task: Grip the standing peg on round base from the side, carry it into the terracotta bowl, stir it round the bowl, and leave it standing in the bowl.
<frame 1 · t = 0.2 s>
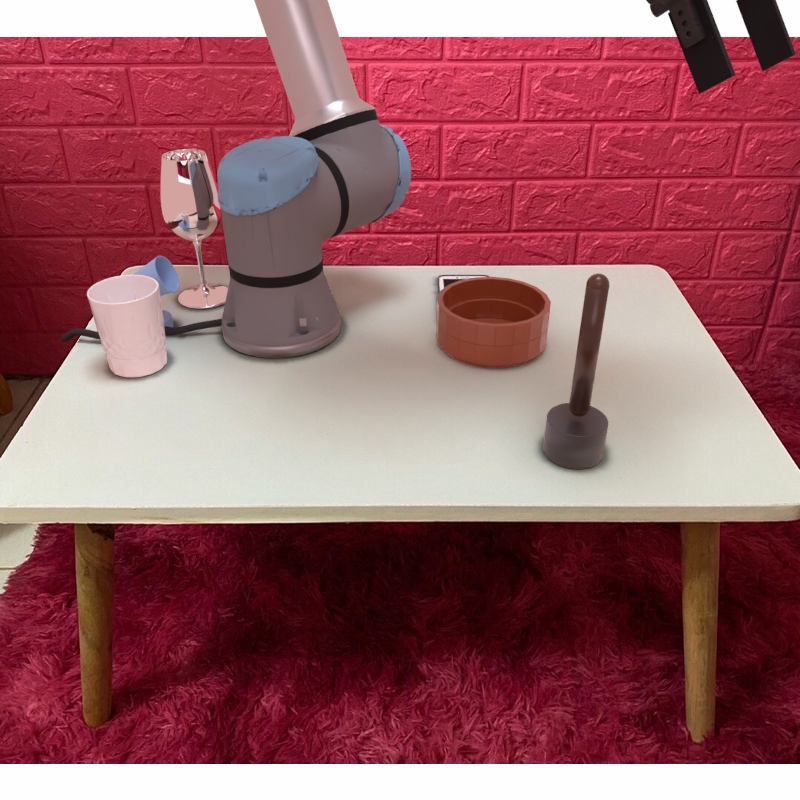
hand: (750, 73, 64), 35 cm above the table, tool tilted 35°, fingers open, 13 cm apart
spotlight: (159, 329, 101), on the table
cell phone: (466, 303, 109), on the table
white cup: (139, 365, 94), on the table
bowl: (490, 342, 98), on the table
peg on round base: (572, 451, 79), on the table
wineglass: (205, 298, 109), on the table
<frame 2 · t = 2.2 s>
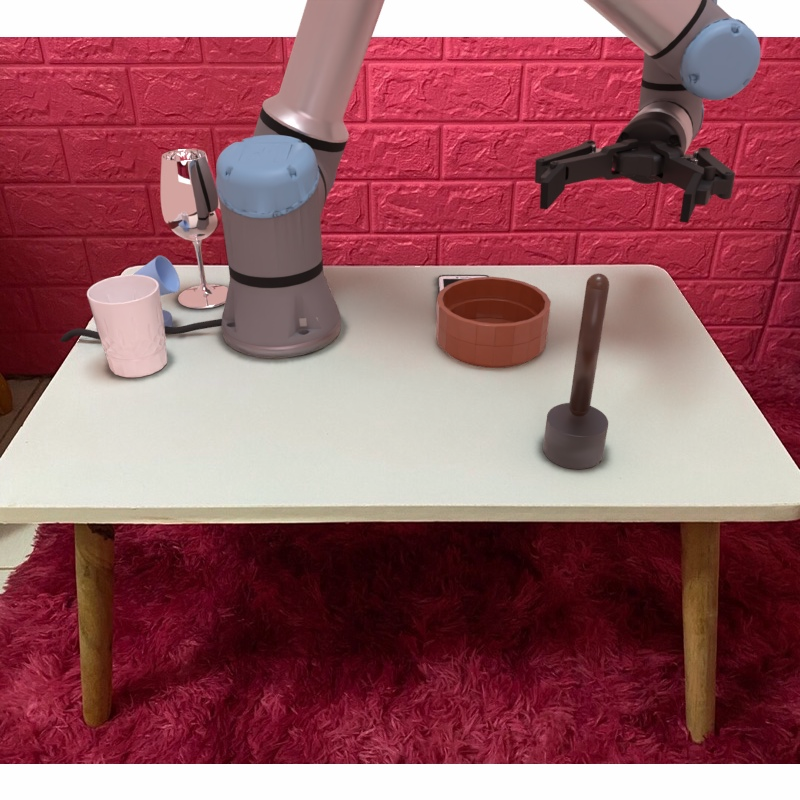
hand: (612, 202, 75), 23 cm above the table, tool horizontal, fingers open, 13 cm apart
nothing on the table moved.
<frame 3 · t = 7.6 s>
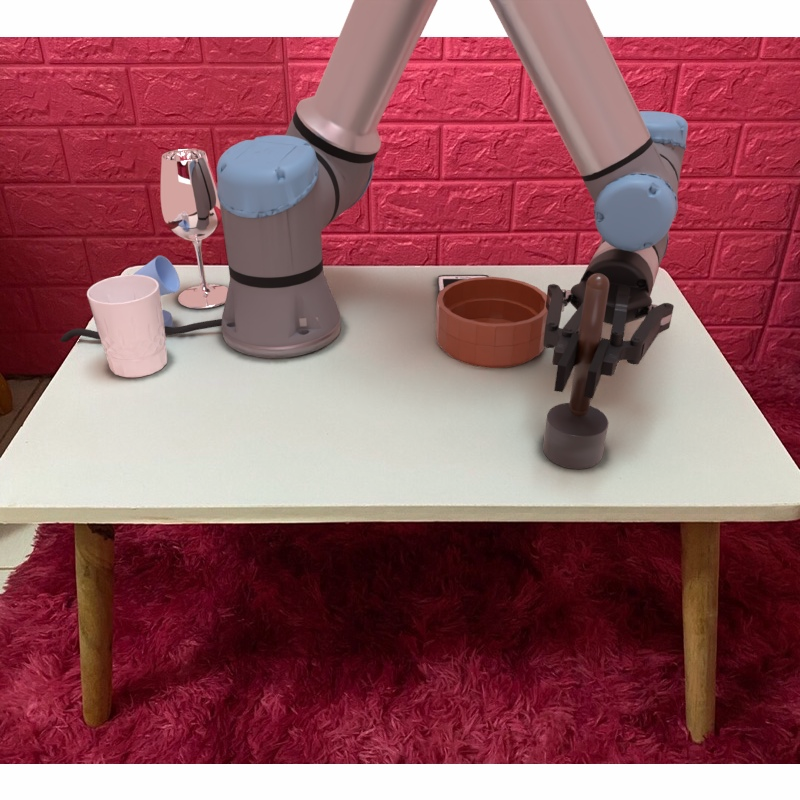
hand: (575, 381, 68), 12 cm above the table, tool horizontal, fingers closed on peg on round base, 2 cm apart
peg on round base: (572, 451, 79), on the table, touching gripper
everything else where it was.
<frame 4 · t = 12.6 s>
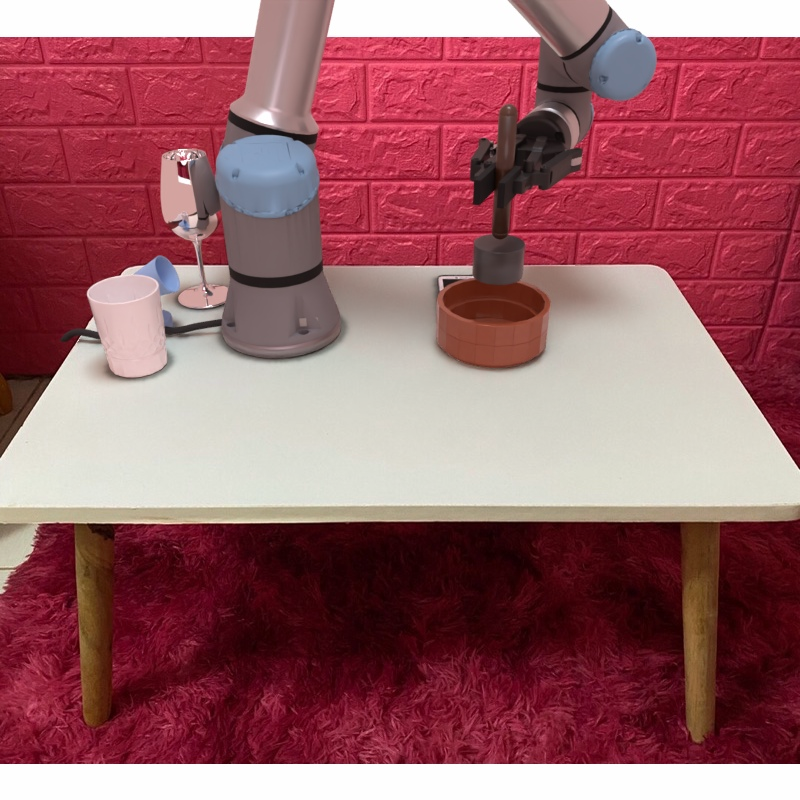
hand: (488, 194, 82), 21 cm above the table, tool horizontal, fingers closed on peg on round base, 2 cm apart
peg on round base: (497, 274, 92), point 10 cm above the table, touching gripper
everything else where it was.
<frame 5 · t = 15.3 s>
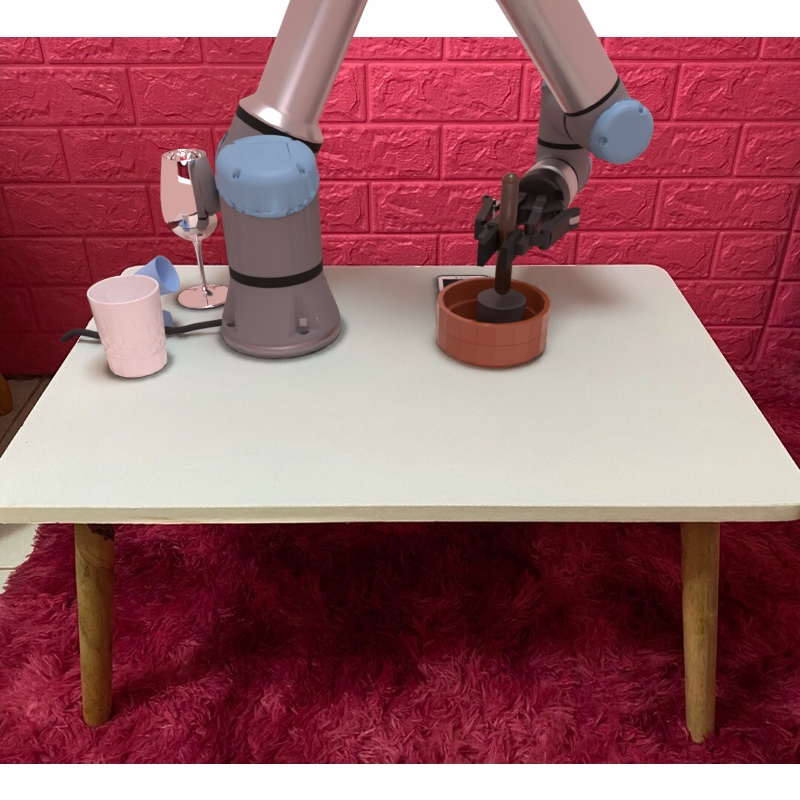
hand: (492, 257, 87), 13 cm above the table, tool horizontal, fingers closed on peg on round base, 2 cm apart
peg on round base: (499, 326, 97), point 2 cm above the table, touching gripper
everything else where it was.
when the fingers open (12 cm above the table, at t = 17.8 s): peg on round base stays where it is, resting on bowl.
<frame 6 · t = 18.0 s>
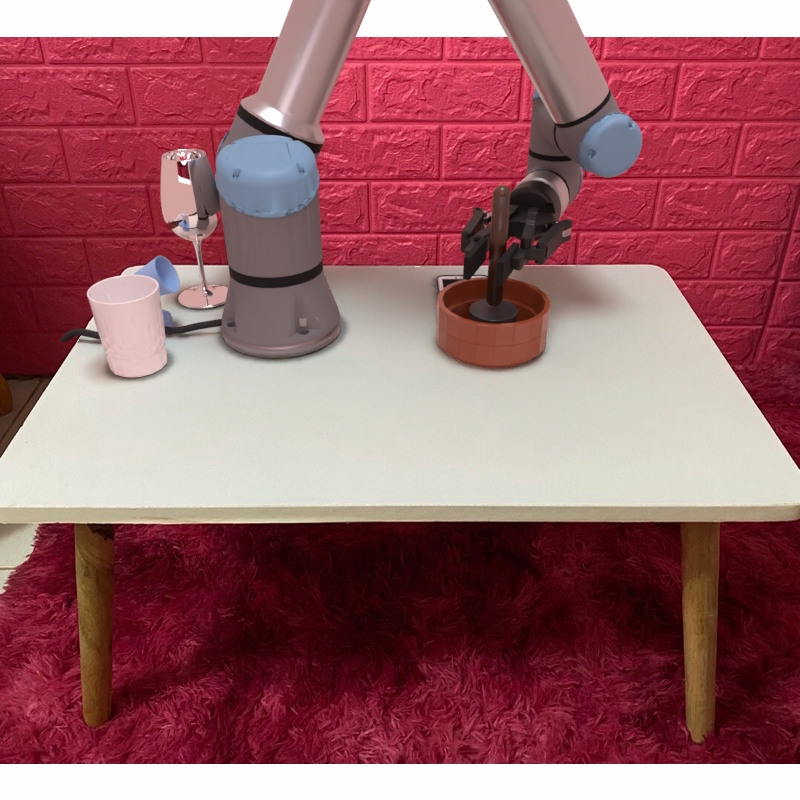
hand: (483, 271, 87), 12 cm above the table, tool horizontal, fingers open, 3 cm apart
peg on round base: (491, 337, 98), point 1 cm above the table, touching bowl
everything else where it was.
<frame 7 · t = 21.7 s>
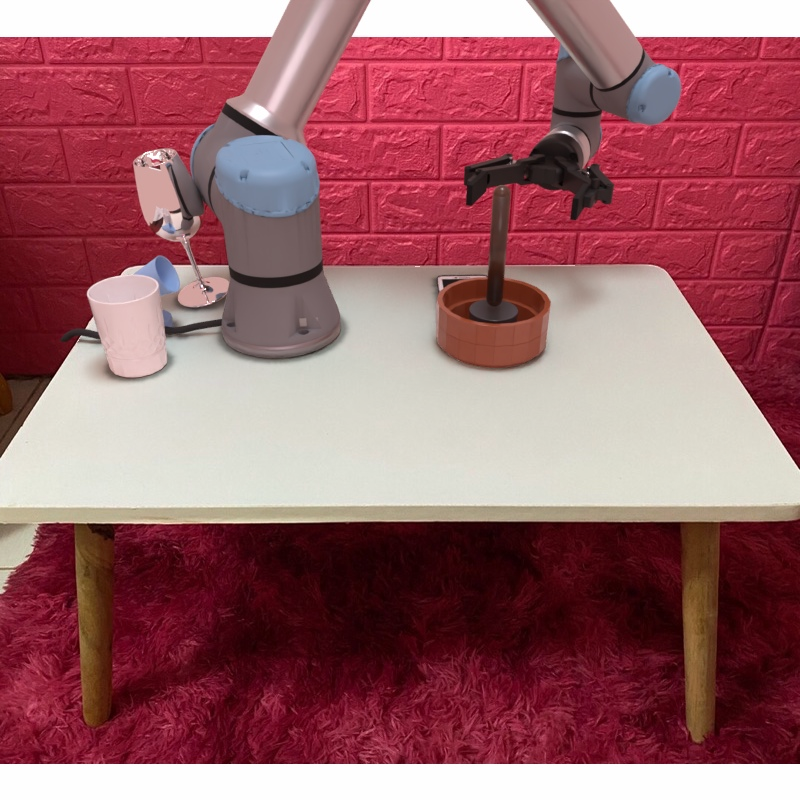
hand: (520, 202, 97), 15 cm above the table, tool horizontal, fingers open, 13 cm apart
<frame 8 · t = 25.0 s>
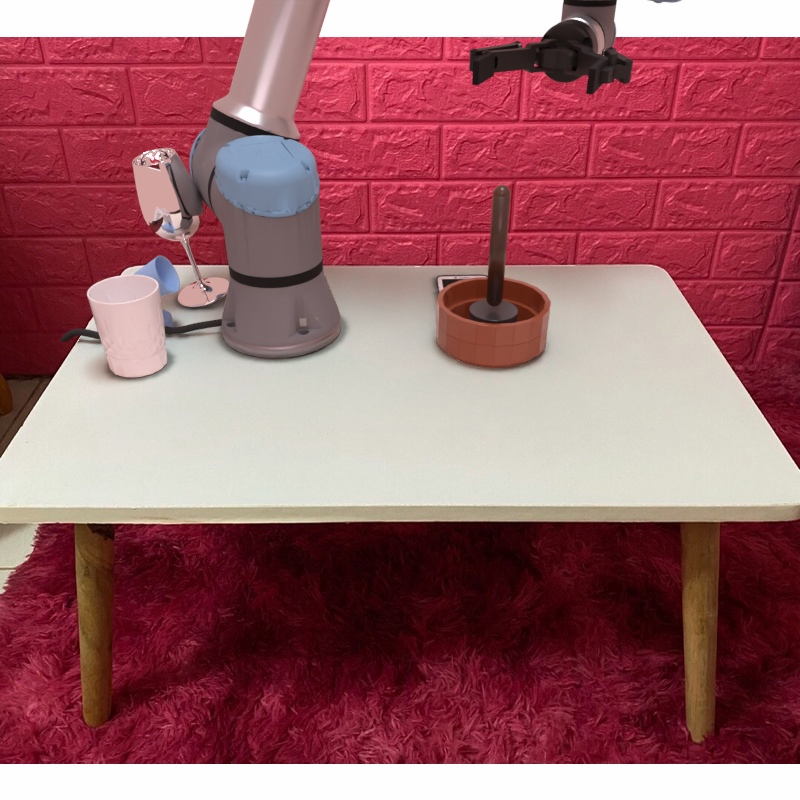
hand: (531, 77, 89), 30 cm above the table, tool horizontal, fingers open, 13 cm apart
wineglass: (205, 294, 109), point 1 cm above the table, touching arm
everything else where it was.
at the end: peg on round base 0.1 cm off-centre in the bowl, point 0.7 cm above the bowl's base; peg on round base tilted 0°; the gripper is holding nothing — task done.
